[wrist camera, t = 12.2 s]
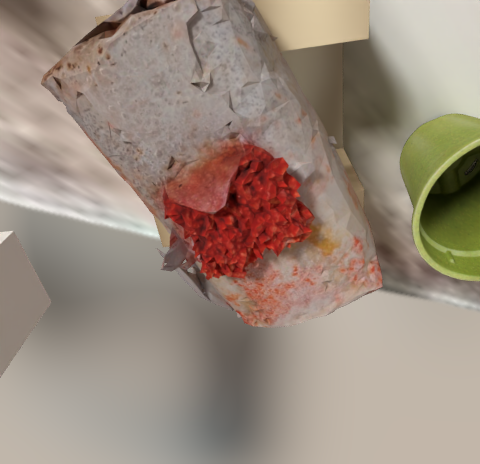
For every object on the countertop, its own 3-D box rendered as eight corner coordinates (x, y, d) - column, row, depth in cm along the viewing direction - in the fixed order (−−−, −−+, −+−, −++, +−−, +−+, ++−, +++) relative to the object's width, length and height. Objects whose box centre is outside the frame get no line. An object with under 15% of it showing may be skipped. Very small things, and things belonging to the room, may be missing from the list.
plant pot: (353, 191, 30) (382, 257, 23) (417, 67, 25) (481, 100, 18) (460, 225, 31) (521, 298, 24) (542, 112, 26) (650, 160, 19)
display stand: (338, -39, 22) (371, -51, 16) (339, 181, 30) (362, 239, 23) (138, -5, 24) (89, -2, 17) (186, 198, 31) (165, 256, 24)
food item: (369, 196, 21) (437, 329, 13) (247, 258, 24) (240, 401, 16) (227, -59, 16) (189, -112, 7) (89, 59, 18) (-55, 118, 10)
